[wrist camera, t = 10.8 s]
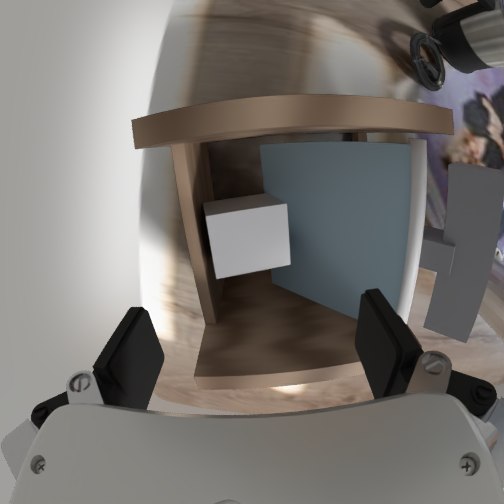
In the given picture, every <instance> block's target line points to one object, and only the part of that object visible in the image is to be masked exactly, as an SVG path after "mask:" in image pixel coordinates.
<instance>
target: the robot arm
mask: <svg viewBox="0 0 504 504" xmlns="http://www.w3.org/2000/svg"><path fill="white" fill-rule="evenodd" d="M478 314H479V315H480V316H481V317H482V318H483V319H484V320H485V321H486V322H487V323H488V325H489V326H490V327H491V328H492V329H493V330H494V331H495V332H496V333H497V335H498V336H499V337H500V338H501V339H502V340H503V341H504V262H503V256H502V253H501V251H500V250H499V249H498V248H497V247H496V251H495V256H494V260H493V265H492V269H491V272H490V276H489V280H488V283H487V287H486V290H485V293H484V297H483V300H482V303H481V306H480V309H479V311H478ZM355 348H356V351H357V353H358V356H359V358H360V361H361V364H362V366H363V369H364V371H365V374H366V377H367V379H368V382H369V385H370V387H371V390H372V393H373V396H374V398H375V399H374V400H369V401H364V402H359V403H354V404H348V405H342V406H336V407H329V408H323V409H315V410H307V411H298V412H288V413H275V414H257V415H199V414H182V413H181V414H180V413H169V412H159V411H150V410H147V407H148V404H149V401H150V398H151V395H152V393H153V390H154V387H155V384H156V381H157V379H158V376H159V373H160V370H161V368H162V365H163V362H164V353H163V350H162V348H161V345H160V343H159V340H158V337H157V335H156V332H155V329H154V327H153V324H152V321H151V318H150V316H149V313H148V311H147V310H145V309H144V308H143V307H131V308H130V309H129V310H128V312H127V313H126V315H125V316H124V318H123V319H122V321H121V322H120V324H119V325H118V327H117V328H116V330H115V332H114V333H113V335H112V336H111V338H110V339H109V341H108V342H107V344H106V346H105V347H104V349H103V351H102V352H101V354H100V355H99V357H98V359H97V361H96V362H95V364H94V365H93V368H94V371H93V372H92V373H91V372H90V371H79V372H77V373H75V374H73V375H72V376H71V377H70V378H69V380H68V381H67V384H66V389H67V391H66V392H64V393H62V394H59V395H57V396H55V397H53V398H51V399H49V400H47V401H45V402H42V403H40V404H38V405H37V406H36V407H35V408H34V409H33V411H32V414H31V421H30V420H29V419H27V420H26V421H24V422H23V423H22V424H21V425H20V426H18V427H17V428H16V429H14V430H13V431H12V432H11V433H9V434H8V435H7V436H6V437H5V438H4V439H3V441H2V443H1V449H2V452H3V454H4V457H5V459H6V461H7V463H8V465H9V467H10V469H11V471H12V473H13V475H14V477H15V479H16V483H15V486H14V490H13V493H12V496H11V500H10V503H9V504H504V492H503V487H504V398H503V397H501V398H500V399H498V398H497V393H496V390H495V388H494V386H493V385H492V384H490V383H489V382H487V381H485V380H481V379H478V378H475V377H472V376H469V375H466V374H463V373H460V372H457V371H454V370H451V369H452V364H451V361H450V359H449V358H448V357H447V356H446V355H445V354H443V353H441V352H439V351H427V352H425V353H424V351H423V350H422V348H421V347H420V345H419V344H418V342H417V340H416V339H415V337H414V336H413V334H412V333H411V331H410V330H409V328H408V327H407V325H406V324H405V322H404V321H403V319H402V318H401V317H400V316H399V315H397V314H396V312H395V311H394V309H393V308H392V306H391V305H390V303H389V302H388V301H387V299H386V298H385V296H384V295H383V294H382V292H381V291H380V289H379V288H375V289H367V290H365V293H363V294H361V299H360V307H359V315H358V322H357V329H356V336H355Z"/></svg>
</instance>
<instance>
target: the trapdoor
mask: <svg viewBox="0 0 504 504" xmlns="http://www.w3.org/2000/svg"><path fill="white" fill-rule="evenodd" d="M259 146H260V156H261V166H262V176H263V186H264V194H265V193H269V194H271V195H273V196H275V197H276V198H278V199H280V200H281V201H283V202H285V203H287V212H288V228H289V244H290V263H291V265H286V266H281V267H276V268H271V275H272V283H274V284H276V285H278V286H280V287H283V288H285V289H287V290H290V291H292V292H294V293H296V294H299V295H301V296H303V297H305V298H308V299H310V300H312V301H315V302H317V303H319V304H322V305H324V306H326V307H328V308H331V309H333V310H335V311H338V312H340V313H342V314H345V315H347V316H349V317H352V318H354V319H357V320H358V315H359V307H360V299H361V294H363V293H365V290H367V289H375V288H379V289H380V291H381V292H382V294H383V295H384V296H385V298H386V299H387V301H388V302H389V303H390V305H391V306H392V308H393V309H394V311H395V312H396V314H397V315H399V316H400V317H401V318H402V319H403V321H404V322H405V324H407V320H408V316H409V312H410V308H411V303H412V299H413V294H414V289H415V284H416V279H417V274H418V268H419V267H421V268H425V269H428V270H432V271H435V272H437V276H436V280H435V285H434V289H433V293H432V297H431V301H430V305H429V309H428V313H427V316H426V320H425V323H424V326H423V327H424V328H427V329H429V330H432V331H435V332H437V333H440V334H443V335H445V336H448V337H451V338H453V339H456V340H459V341H461V342H464V343H466V342H467V340H468V337H469V335H470V332H471V330H472V328H473V325H474V322H475V320H476V317H477V314H478V311H479V309H480V306H481V303H482V300H483V297H484V293H485V290H486V287H487V283H488V280H489V276H490V272H491V269H492V265H493V260H494V256H495V251H496V247H497V242H498V236H499V230H500V224H501V217H502V209H503V200H504V174H503V172H502V171H501V170H497V169H492V168H487V167H483V166H478V165H472V164H467V163H461V162H455V163H452V164H449V165H448V193H447V207H446V218H445V227H444V230H440V229H436V228H432V227H428V226H424V221H425V209H426V192H427V140H425V139H415V138H409V144H399V143H382V142H351V141H326V142H294V143H276V144H263V145H259Z"/></svg>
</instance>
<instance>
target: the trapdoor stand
mask: <svg viewBox="0 0 504 504" xmlns="http://www.w3.org/2000/svg"><path fill="white" fill-rule="evenodd" d="M132 130H133V138H134V144H135V149H141V148H151V147H162V146H171V149H172V156H173V163H174V170H175V176H176V183H177V189H178V195H179V201H180V207H181V212H182V218H183V223H184V229H185V234H186V239H187V244H188V249H189V254H190V259H191V264H192V268H193V273H194V278H195V282H196V287H197V291H198V295H199V300H200V304H201V308H202V312H203V316H204V320H205V324H206V325H205V330H204V334H203V338H202V342H201V347H200V351H199V355H198V360H197V364H196V369H195V373H194V379H195V381H196V384H197V386H198V389H202V390H218V389H250V388H266V387H278V386H288V385H297V384H306V383H313V382H320V381H327V380H333V379H339V378H345V377H350V376H355V375H360V374H365V371H364V369H363V366H362V364H361V361H360V358H359V356H358V353H357V351H356V348H355V336H356V329H357V322H358V320H357V319H354V318H352V317H349V316H347V315H345V314H342V313H340V312H338V311H335V310H333V309H331V308H328V307H326V306H324V305H322V304H319V303H317V302H315V301H312V300H310V299H308V298H305V297H303V296H301V295H299V294H296V293H294V292H292V291H290V290H287V289H285V288H283V287H280V286H278V285H276V284H274V283H272V275H271V270H267V271H256V272H251V273H246V274H240V275H235V276H230V277H225V278H219V279H216V274H215V270H214V265H213V261H212V256H211V251H210V245H209V239H208V233H207V227H206V221H205V215H204V209H203V203H206V202H212V201H215V200H214V193H213V186H212V178H211V171H210V163H209V155H208V148H207V143H209V142H216V141H223V140H231V139H239V138H248V137H259V136H270V135H284V134H303V133H352V142H367V135H366V133H378V132H404V133H433V134H448V135H454V122H453V111H452V109H448V108H443V107H439V106H434V105H429V104H423V103H417V102H411V101H404V100H397V99H389V98H380V97H369V96H355V95H331V94H301V95H277V96H262V97H251V98H241V99H233V100H225V101H218V102H212V103H205V104H199V105H194V106H188V107H183V108H178V109H174V110H169V111H165V112H160V113H156V114H152V115H148V116H145V117H141V118H137V119H134V120H132ZM406 325H407V324H406ZM407 327H408V325H407ZM408 328H409V327H408ZM409 330H410V331H411V329H410V328H409ZM411 333H412V334H413V332H412V331H411ZM413 336H414V337H415V335H414V334H413ZM415 339H416V340H417V338H416V337H415ZM417 342H418V344H419V345H420V347H421V348H422V346H421V344H420V343H419V341H418V340H417Z"/></svg>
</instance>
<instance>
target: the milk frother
mask: <svg viewBox="0 0 504 504" xmlns="http://www.w3.org/2000/svg"><path fill="white" fill-rule="evenodd" d="M441 1H442V0H420V2H421V4H422V5H423V6H424V7H426V8H431V7H433V6H435V5H436V4H438V3H439V2H441ZM477 1H478V2H476V3H473V4H470V5H468V6H465V7H463V8H460V9H458V10H455V11H453V12H450V13H448V14H446V15H443V16H442V17H441V18H438V19H436V20H435V22H434V23H433V36H434V38H432V37H430V36H429V35H427V34H424V33H415V34H413V36H412V37H411V40H410V53H411V59H412V63H413V66H414V69H415V72H416V74H417V76H418V78H419V80H420V82H421V83H422V84H423V86H424V87H426V88H427V89H428V90H431V91H438V90H439V89H441V88H443V84H444V81H445V68H444V63H443V61H442V57H441V55H440V53H439V51H438V49H437V47H436V46H435V44H434V43H433V41H434V42H435V43H436V44H437V46H438V48H439V50H440V52H441V53H442V55H443V56H444V57H445V59H446V60H447V61H448V62H449V63H450V64H451V65H452V66H453V67H454V68H455V69H457V70H459V71H460V72H463V73H467V74H468V73H472V72H474V71H476V70H481V69H486V68H495V67H504V0H477ZM422 43H424V44H426V45H427V46H428V47H429V48H430V49H431V51H432V53H433V55H434V57H435V60H436V63H437V68H438V71H437V70H436V69H435V68H434V67H433V66H431V64H430V63H429V62H426V60H425V59H424V57H421V55H420V46H421V44H422Z"/></svg>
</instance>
